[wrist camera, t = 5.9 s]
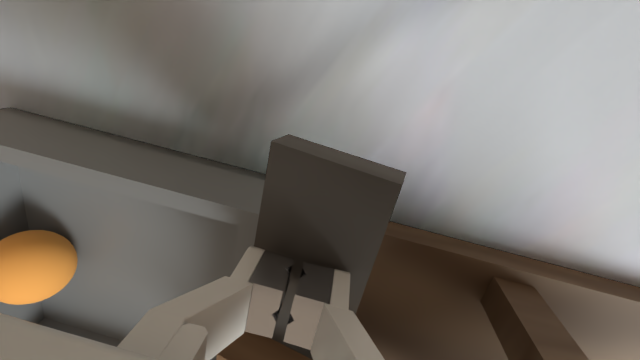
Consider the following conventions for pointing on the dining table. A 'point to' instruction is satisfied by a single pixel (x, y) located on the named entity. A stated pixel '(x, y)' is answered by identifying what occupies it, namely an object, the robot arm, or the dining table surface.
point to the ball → (35, 266)
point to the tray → (121, 220)
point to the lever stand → (491, 305)
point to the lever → (318, 226)
